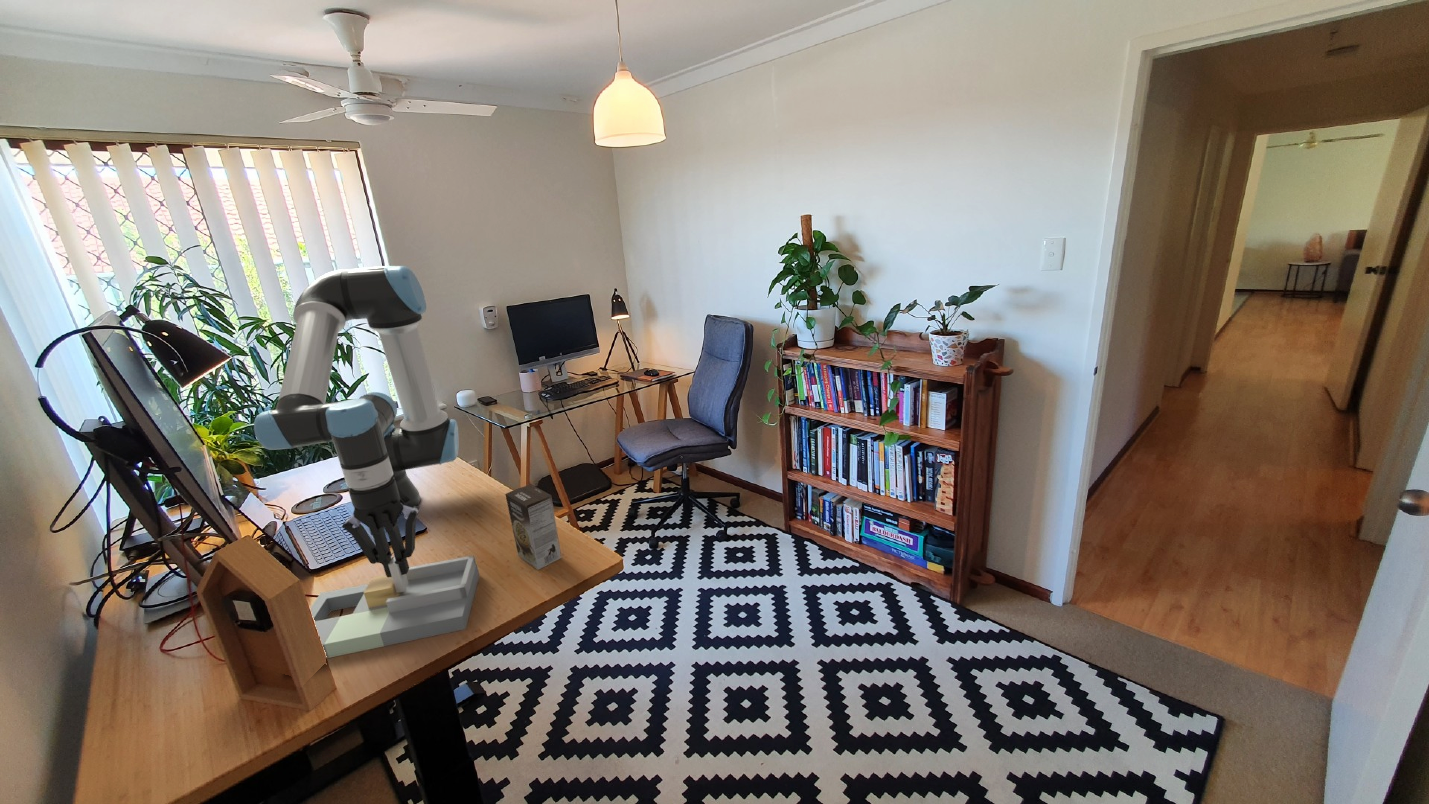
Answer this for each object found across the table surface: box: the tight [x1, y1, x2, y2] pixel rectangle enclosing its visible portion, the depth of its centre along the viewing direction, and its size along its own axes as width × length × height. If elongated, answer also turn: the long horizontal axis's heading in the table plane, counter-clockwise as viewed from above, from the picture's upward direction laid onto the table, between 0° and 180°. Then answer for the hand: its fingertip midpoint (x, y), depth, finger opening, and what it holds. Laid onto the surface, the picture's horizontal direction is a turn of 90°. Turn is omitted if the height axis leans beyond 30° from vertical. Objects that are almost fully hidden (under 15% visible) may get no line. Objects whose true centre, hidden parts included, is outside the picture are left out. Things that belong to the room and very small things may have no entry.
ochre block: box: [364, 574, 401, 608], centre depth 107 cm, size 5×5×4 cm
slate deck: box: [310, 554, 480, 659], centre depth 106 cm, size 17×30×6 cm, turn 104°
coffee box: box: [504, 483, 562, 571], centre depth 121 cm, size 9×6×16 cm
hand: (402, 587), depth 108 cm, fingers closed
